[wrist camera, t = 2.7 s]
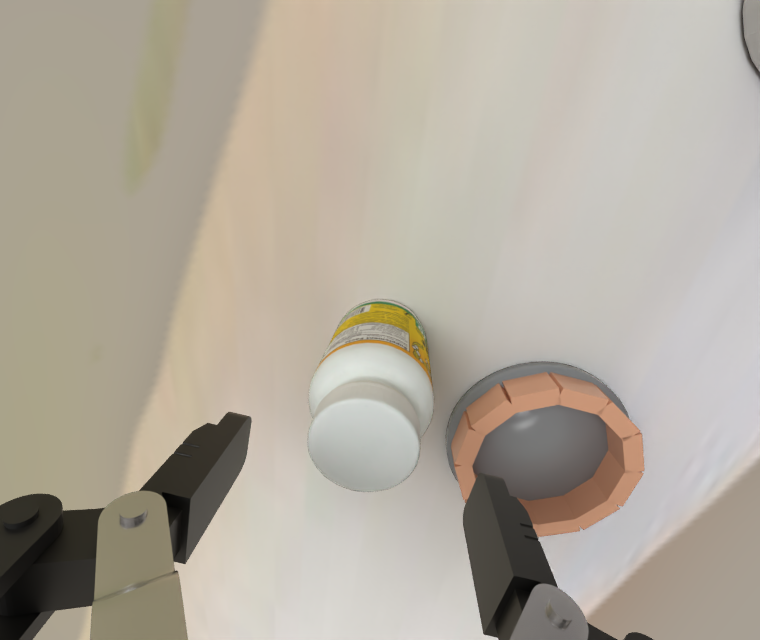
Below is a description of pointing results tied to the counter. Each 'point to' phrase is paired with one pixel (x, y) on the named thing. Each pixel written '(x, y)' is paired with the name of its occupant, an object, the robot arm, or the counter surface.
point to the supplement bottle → (371, 398)
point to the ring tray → (548, 443)
